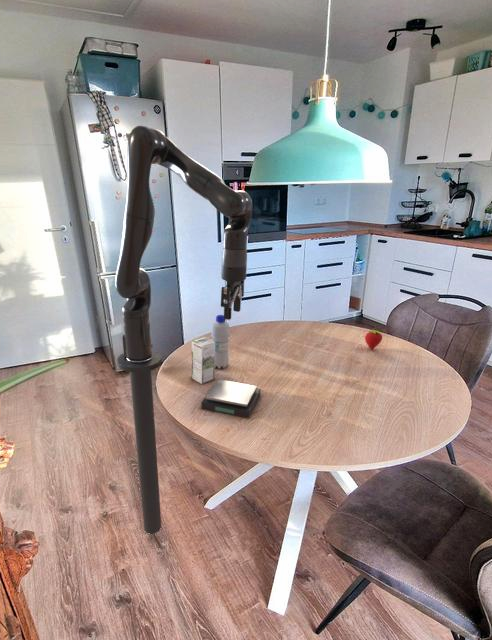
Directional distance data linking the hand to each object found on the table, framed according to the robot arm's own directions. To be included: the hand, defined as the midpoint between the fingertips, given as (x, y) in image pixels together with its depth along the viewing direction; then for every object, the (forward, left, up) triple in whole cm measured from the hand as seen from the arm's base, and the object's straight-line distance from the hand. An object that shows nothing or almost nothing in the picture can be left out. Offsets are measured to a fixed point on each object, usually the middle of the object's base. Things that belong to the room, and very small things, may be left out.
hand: (232, 315), depth 122 cm
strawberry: (+47, +50, -25) cm, 74 cm away
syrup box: (-10, -1, -25) cm, 27 cm away
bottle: (-8, +11, -25) cm, 28 cm away
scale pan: (+4, -12, -22) cm, 25 cm away
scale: (+4, -12, -25) cm, 28 cm away
